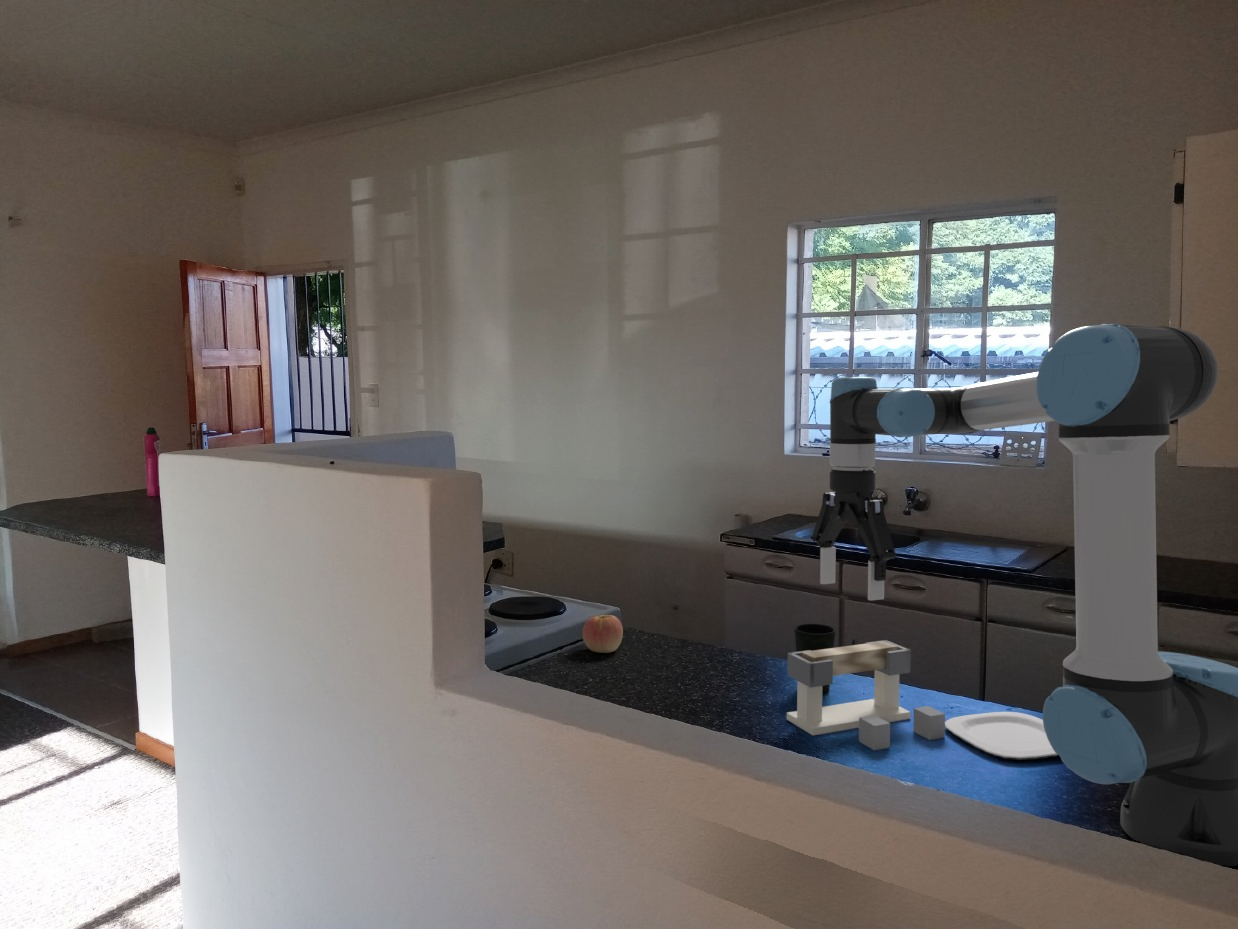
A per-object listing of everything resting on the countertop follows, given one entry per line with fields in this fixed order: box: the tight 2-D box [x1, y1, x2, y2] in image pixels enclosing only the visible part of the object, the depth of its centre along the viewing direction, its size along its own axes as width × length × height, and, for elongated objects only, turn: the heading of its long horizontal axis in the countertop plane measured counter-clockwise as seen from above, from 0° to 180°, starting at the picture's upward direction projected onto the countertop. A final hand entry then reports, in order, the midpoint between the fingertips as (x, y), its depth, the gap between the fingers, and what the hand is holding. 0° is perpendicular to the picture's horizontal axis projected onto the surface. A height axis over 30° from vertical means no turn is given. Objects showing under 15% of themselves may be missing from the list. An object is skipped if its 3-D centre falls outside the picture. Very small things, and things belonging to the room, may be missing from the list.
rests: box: [858, 705, 946, 751], centre depth 148 cm, size 4×14×4 cm, turn 112°
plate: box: [945, 711, 1060, 761], centre depth 147 cm, size 18×18×2 cm
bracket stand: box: [786, 639, 912, 736], centre depth 156 cm, size 8×21×12 cm, turn 112°
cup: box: [793, 623, 837, 696], centre depth 171 cm, size 8×8×12 cm
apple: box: [582, 614, 624, 654], centre depth 198 cm, size 9×9×8 cm
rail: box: [802, 640, 897, 677], centre depth 156 cm, size 17×4×4 cm, turn 112°
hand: (850, 591), depth 155 cm, fingers open, 13 cm apart
